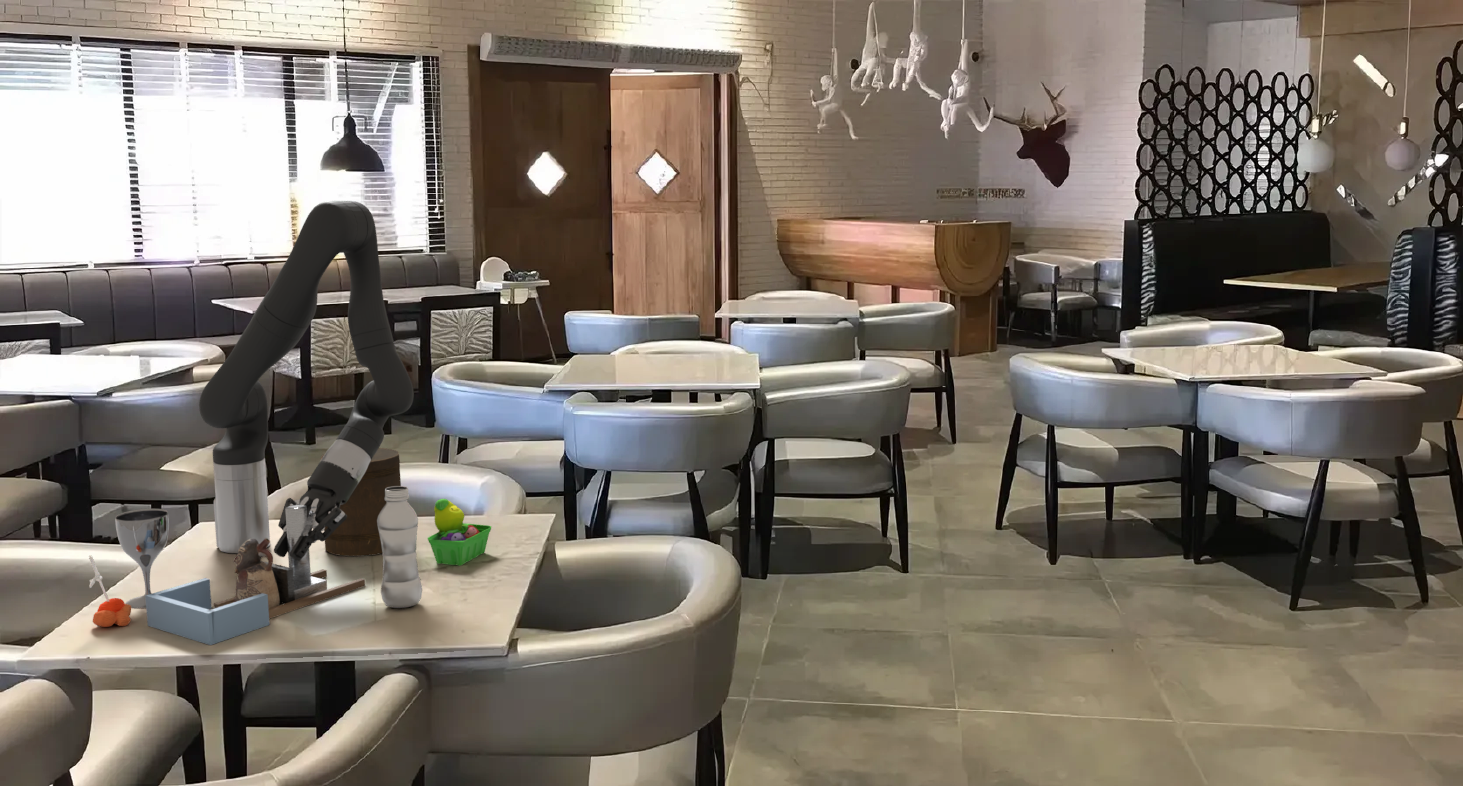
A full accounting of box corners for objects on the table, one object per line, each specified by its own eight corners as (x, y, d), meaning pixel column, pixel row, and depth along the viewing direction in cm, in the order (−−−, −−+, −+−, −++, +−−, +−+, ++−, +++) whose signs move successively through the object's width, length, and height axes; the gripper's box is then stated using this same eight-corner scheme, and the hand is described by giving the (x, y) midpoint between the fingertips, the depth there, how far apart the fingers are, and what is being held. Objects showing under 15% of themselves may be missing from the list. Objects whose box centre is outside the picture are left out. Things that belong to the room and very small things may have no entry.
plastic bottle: (412, 613, 202) (406, 494, 198) (374, 611, 203) (368, 492, 200) (429, 601, 208) (424, 485, 205) (392, 598, 209) (386, 483, 206)
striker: (262, 598, 209) (256, 511, 206) (302, 585, 215) (297, 501, 213) (289, 605, 205) (283, 517, 202) (329, 591, 212) (324, 506, 209)
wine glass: (140, 612, 203) (133, 523, 200) (112, 603, 207) (105, 516, 204) (184, 598, 209) (178, 512, 207) (156, 590, 213) (149, 506, 211)
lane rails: (214, 610, 203) (213, 603, 203) (323, 575, 222) (322, 569, 221) (257, 622, 198) (256, 615, 197) (365, 586, 216) (364, 579, 216)
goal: (147, 625, 196) (145, 595, 195) (207, 607, 205) (205, 578, 204) (210, 645, 188) (207, 613, 187) (269, 624, 197) (267, 594, 196)
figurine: (244, 601, 207) (240, 532, 206) (286, 602, 207) (282, 533, 205) (226, 616, 200) (221, 544, 198) (269, 616, 200) (265, 545, 198)
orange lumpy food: (71, 635, 192) (65, 560, 190) (112, 615, 201) (106, 543, 200) (106, 637, 191) (100, 562, 189) (145, 617, 200) (140, 545, 198)
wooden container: (361, 532, 250) (355, 425, 247) (420, 540, 244) (415, 431, 240) (308, 551, 237) (301, 438, 233) (368, 561, 231) (363, 445, 227)
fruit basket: (463, 568, 226) (460, 508, 224) (420, 564, 229) (418, 504, 227) (494, 551, 236) (492, 494, 235) (453, 547, 239) (451, 490, 237)
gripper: (299, 455, 217) (244, 539, 209) (354, 464, 210) (300, 551, 201) (325, 478, 222) (272, 561, 214) (380, 488, 215) (328, 574, 207)
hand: (286, 556), depth 208 cm, fingers closed on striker, 3 cm apart
